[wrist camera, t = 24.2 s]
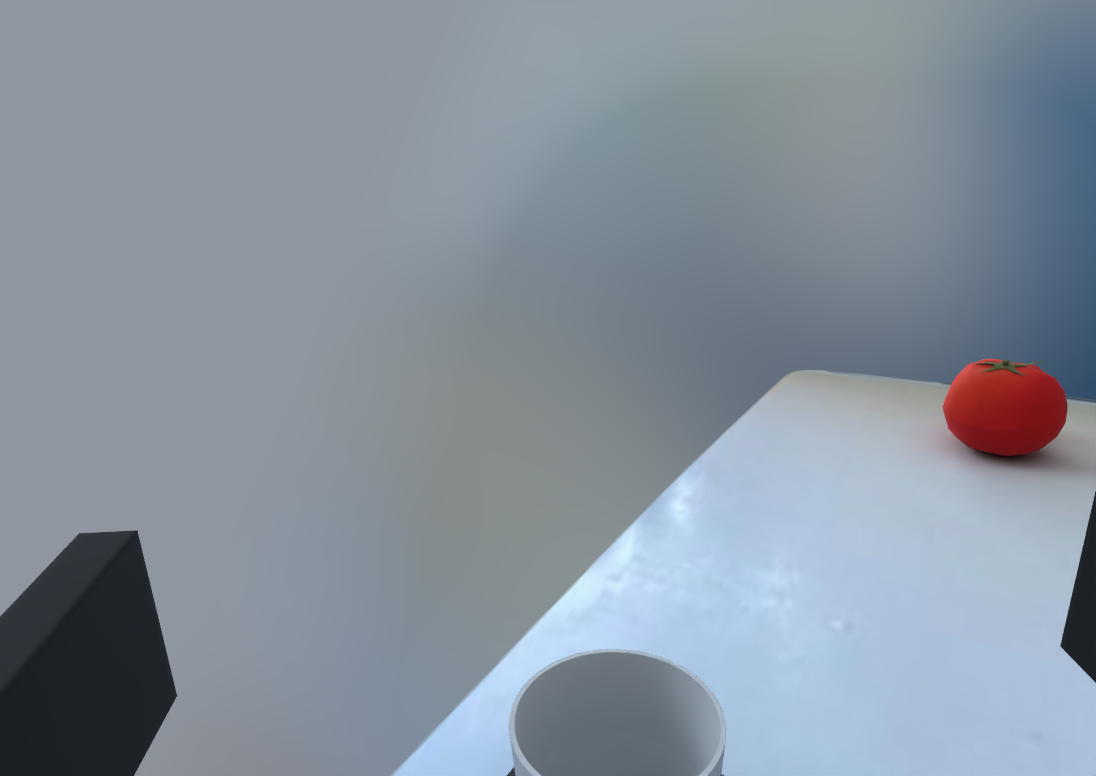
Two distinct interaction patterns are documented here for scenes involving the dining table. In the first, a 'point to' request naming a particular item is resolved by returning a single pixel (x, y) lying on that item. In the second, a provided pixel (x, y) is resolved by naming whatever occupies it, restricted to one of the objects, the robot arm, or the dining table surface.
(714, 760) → the cup
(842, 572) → the dining table surface
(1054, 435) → the tomato
